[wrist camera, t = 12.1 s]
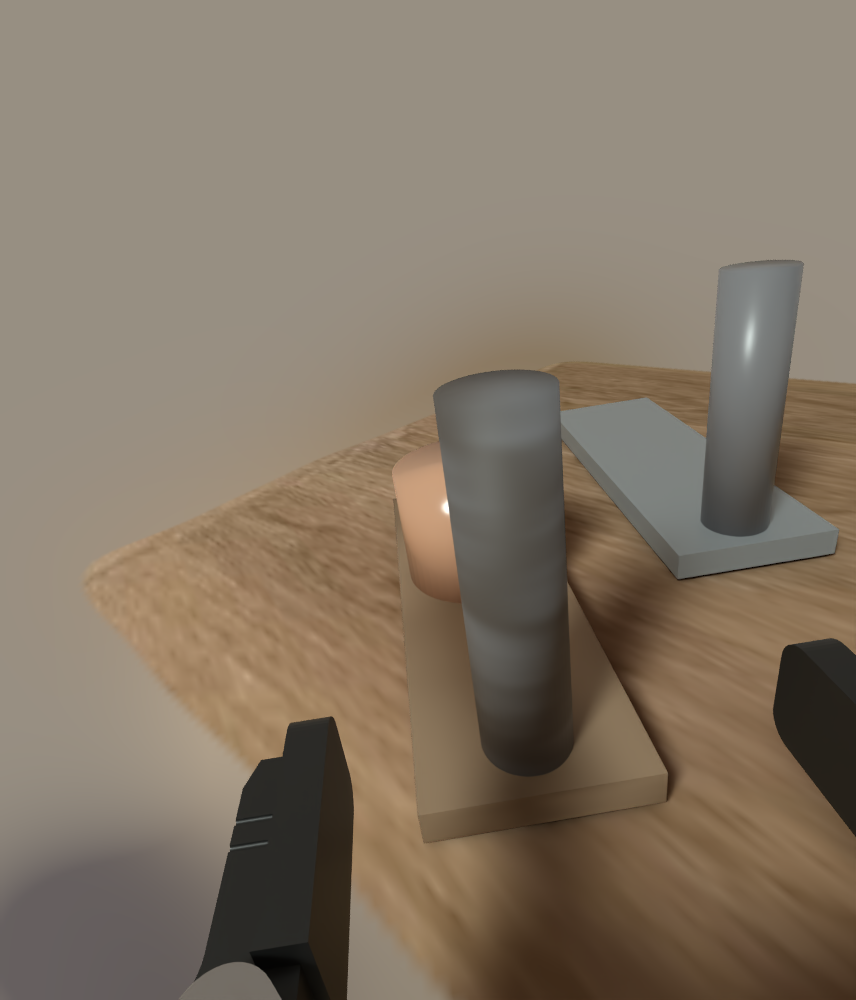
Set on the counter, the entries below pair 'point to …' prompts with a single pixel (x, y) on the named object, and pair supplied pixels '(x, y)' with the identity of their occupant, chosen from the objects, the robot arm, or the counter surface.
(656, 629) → the counter surface
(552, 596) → the peg on wooden base
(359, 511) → the counter surface
